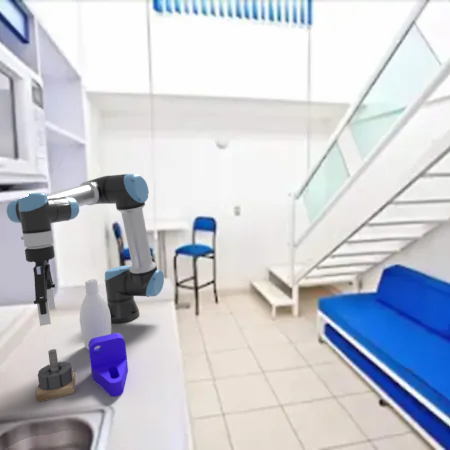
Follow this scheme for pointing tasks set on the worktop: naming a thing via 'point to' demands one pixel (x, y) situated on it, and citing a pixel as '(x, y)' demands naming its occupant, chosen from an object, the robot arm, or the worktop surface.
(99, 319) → the bottle
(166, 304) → the worktop surface
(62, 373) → the dark grey gear
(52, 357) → the peg base board
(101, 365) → the bracket
